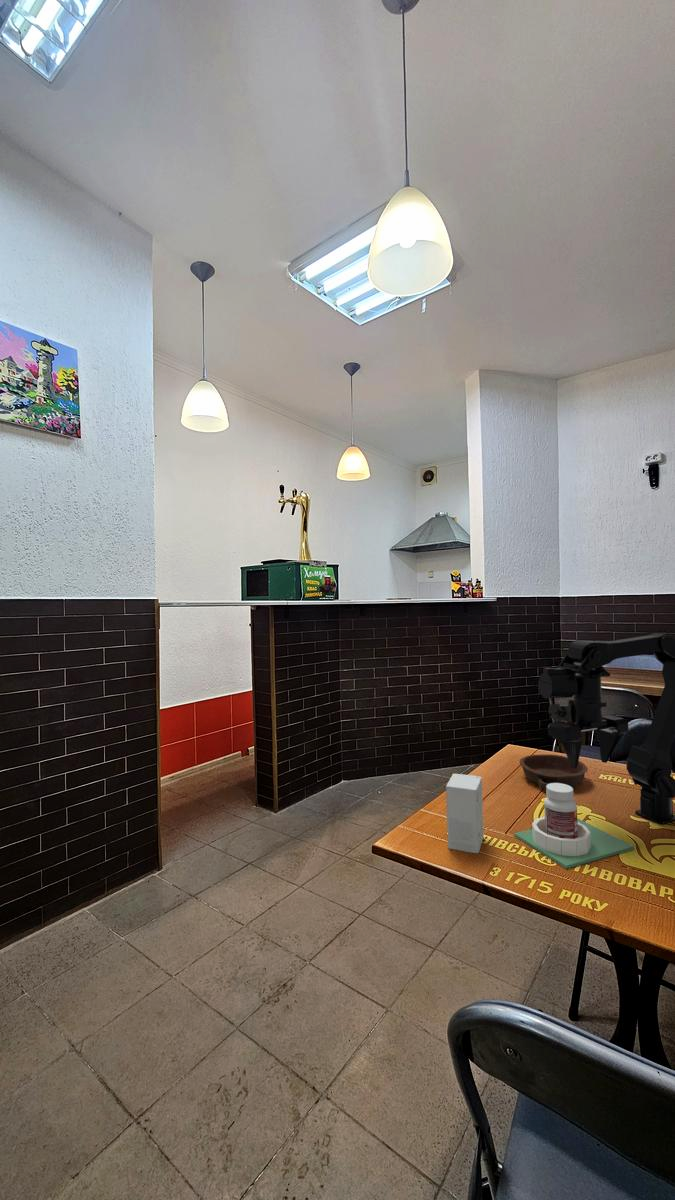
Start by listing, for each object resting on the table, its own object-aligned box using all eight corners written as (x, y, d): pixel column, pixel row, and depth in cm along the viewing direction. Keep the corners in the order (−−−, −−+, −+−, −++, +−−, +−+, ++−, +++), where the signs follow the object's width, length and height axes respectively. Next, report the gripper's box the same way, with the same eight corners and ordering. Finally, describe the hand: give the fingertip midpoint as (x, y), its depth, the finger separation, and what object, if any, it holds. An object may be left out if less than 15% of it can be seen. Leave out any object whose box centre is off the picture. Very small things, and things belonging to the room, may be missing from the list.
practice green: (577, 820, 111) (576, 804, 111) (633, 849, 98) (633, 831, 98) (514, 836, 104) (513, 819, 104) (566, 868, 91) (565, 849, 91)
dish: (511, 788, 131) (510, 770, 131) (528, 764, 149) (528, 748, 149) (582, 801, 121) (582, 781, 121) (592, 774, 140) (591, 757, 140)
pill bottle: (583, 850, 97) (581, 793, 97) (551, 849, 97) (549, 793, 97) (571, 835, 103) (569, 781, 103) (541, 834, 103) (539, 781, 103)
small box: (454, 831, 107) (452, 772, 107) (484, 836, 104) (482, 776, 104) (446, 848, 100) (445, 785, 100) (478, 854, 97) (476, 789, 97)
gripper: (587, 687, 120) (589, 749, 120) (528, 694, 114) (530, 760, 114) (629, 694, 110) (631, 763, 110) (567, 702, 103) (569, 775, 103)
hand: (589, 765), depth 110 cm, fingers open, 9 cm apart
